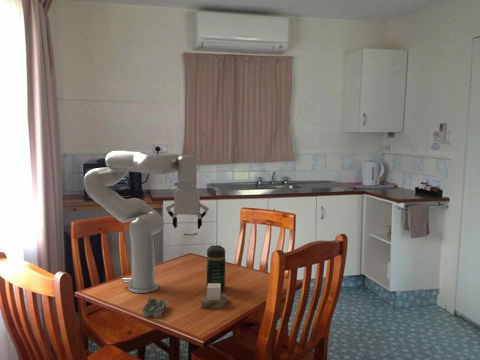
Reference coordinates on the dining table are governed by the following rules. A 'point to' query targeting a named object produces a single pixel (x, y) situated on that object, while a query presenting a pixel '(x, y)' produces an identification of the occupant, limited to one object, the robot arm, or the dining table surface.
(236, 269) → the dining table surface
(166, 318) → the dining table surface
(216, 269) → the coffee jar
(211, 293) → the cube
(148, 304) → the egg carton
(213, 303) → the base
